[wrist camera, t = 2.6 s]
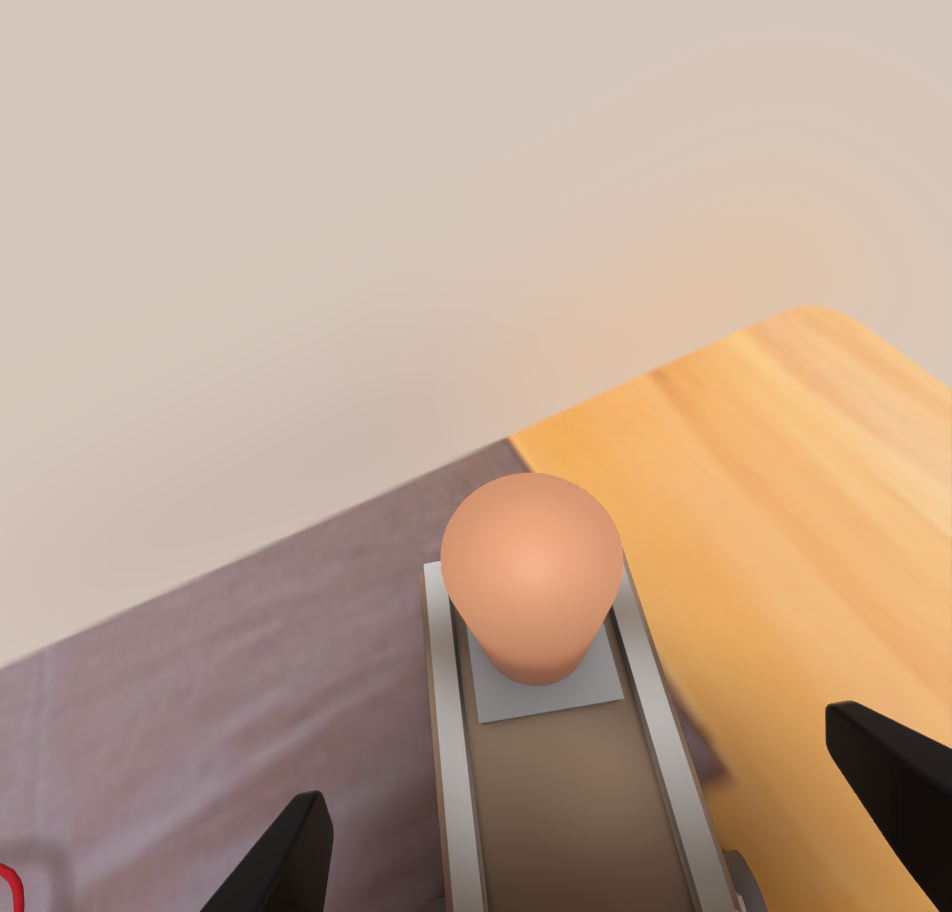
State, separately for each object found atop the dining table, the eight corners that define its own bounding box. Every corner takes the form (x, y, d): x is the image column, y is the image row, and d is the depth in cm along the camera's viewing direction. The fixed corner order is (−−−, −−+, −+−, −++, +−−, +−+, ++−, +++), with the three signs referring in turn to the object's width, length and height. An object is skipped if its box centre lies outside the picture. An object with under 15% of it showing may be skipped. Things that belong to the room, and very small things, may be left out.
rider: (617, 702, 15) (687, 668, 8) (484, 724, 15) (432, 712, 8) (577, 556, 18) (602, 429, 11) (464, 576, 18) (412, 465, 11)
